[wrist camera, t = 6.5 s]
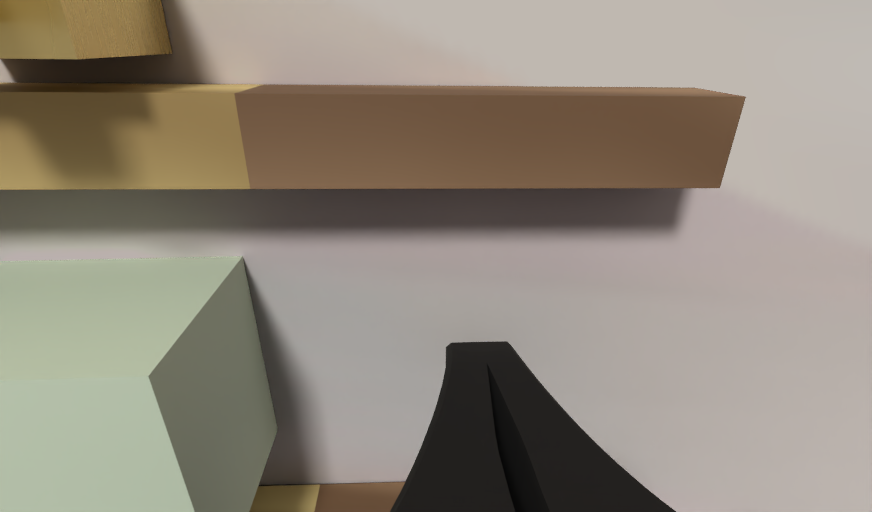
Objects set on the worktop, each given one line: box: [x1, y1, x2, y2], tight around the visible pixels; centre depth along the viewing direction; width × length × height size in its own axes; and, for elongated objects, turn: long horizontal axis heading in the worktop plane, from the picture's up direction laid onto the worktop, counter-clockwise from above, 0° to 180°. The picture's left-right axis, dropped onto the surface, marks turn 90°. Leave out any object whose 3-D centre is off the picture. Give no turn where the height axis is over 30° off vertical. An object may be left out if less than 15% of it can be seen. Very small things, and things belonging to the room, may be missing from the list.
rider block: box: [0, 256, 278, 512], centre depth 9 cm, size 5×5×4 cm
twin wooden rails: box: [0, 83, 746, 512], centre depth 10 cm, size 12×24×2 cm, turn 89°
